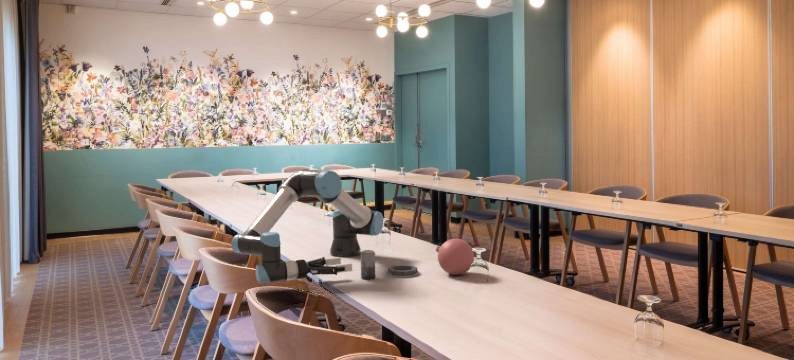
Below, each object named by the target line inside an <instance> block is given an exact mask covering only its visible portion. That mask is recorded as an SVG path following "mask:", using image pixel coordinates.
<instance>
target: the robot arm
mask: <svg viewBox="0 0 794 360" xmlns="http://www.w3.org/2000/svg"><path fill="white" fill-rule="evenodd" d="M341 180H342V178H341V176H340V175H339V174H338V173H337V172H336V171H333V170H329V169H323V170H320V169H319V170H318V169H302V170H298V171H296V172H294V173H293V174H292V175H290V176H289V177H288V178H286V179H285V180H284V181H283V182H282V183H281V184H280V185H279V187H278V189H277V190H278V191H277V193H276V194H275V195H274V196H273V198H272V199H271V200H270V202H269V203H268V204H267V205H266V206H265V207H264V208H263V210H262V211H261V212H260V213H259V215H258V216H257V217H256V218H255V219H254V221H253V222H252V223H251V224H250V226H248V228H247V229H246V230H245V232H243V233H238V234H236V235H234V236H233V238H232V240H231V244H230V245H231V249H232V251H233V252H235V253H237V254H242V255H252V256H259V257H260V263H258V264H256V266H255V278H256V281H257V282H258V284H266V283H267V284H271V283H277V282H283V281H284V282H285V281H287V282H290V281H291V280H296V279H297V280H300V279H301V280H302V279H306V278H307V277H308V274H311V275H312V276H316V275H334V276H337V275H338V274H339V273H346V272H353V264H352V263H348V264H347V263H346V264H342V262H341V260H342V259H341V257H344V258H345V257H346V258H347V257H355V256H358V255H361V252H362V249H361V246H360V242H359V240H358V238H357V237H358V235H362V236H371V237H373V236H378V235H380V233H382V230H383V227H384V216H383V214H382V212H380V211H377V210H376V211H375V210H374V211H373V210H372V209H371V208H370V207H368V206H367V205H361V204H360V203H359V202H358V201H357V200H356V199H354V198H353V197H352V196H351V195H350V194H349V193H348V192H346V191H345V190H344V189H343V182H342V181H341ZM303 197H311V198H317V199H318V200H319V201H320V202H322V203H324V204H330V206H332V207H333V208H335V209H334V210H333V211H332V231H333V233H332V235H333V236H332V237H333V238H332V242H331V245H330V249H329V254H330V256H332V258H331V257H330V258H326V257H325V256H323V257H320V258H316V259H312V260H309V261H306V260H305V259H297V260H295V259H294V260H286V261H281V255H282V254H281V244H282V243H281V237H280V233H278V232H276V231H271V230H272V228H274V226H275V225H277V222H278V221H279V220H280V219H281V218H282V217H283V215H284V214H285V213H286V211H287V210H288V209H289V208H290V206H291V205H292V203H297V201H298V200H299V199H300V198H303ZM333 257H334V258H333Z"/></svg>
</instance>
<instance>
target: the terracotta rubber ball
mask: <svg viewBox="0 0 794 360" xmlns="http://www.w3.org/2000/svg"><path fill="white" fill-rule="evenodd" d="M472 249H473V247H472V245H470V244H469V242H467V241H466V240H464V239H460V238H451V239H448V240H446V241H445V242H443V243H442V244H441V245H437V246H436V249H435V251H436V253H437V261H438V264H439V266H440V268H441V269H442V270H443V271H444V272H446V274H449V275H452V276H460V275H465V273H467V272H469V270H470V269H471V268H472V267H471V264H472V263H473V264H474V261H475V253H474V250H473V251H471V250H472ZM470 267H471V268H470Z"/></svg>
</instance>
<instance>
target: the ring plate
mask: <svg viewBox="0 0 794 360" xmlns="http://www.w3.org/2000/svg"><path fill="white" fill-rule="evenodd" d="M386 275H387V276H388V277H391V278H398V279H399V278H413V277H417V276H418V275H420V272H419V270H418V267H416V266H415V265H414V264H413V265H411V264H396V265H391V266H389V267H388V268H387V272H386Z"/></svg>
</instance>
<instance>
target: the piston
mask: <svg viewBox="0 0 794 360" xmlns="http://www.w3.org/2000/svg"><path fill="white" fill-rule="evenodd" d="M360 279H361V280H364V281H370V280H371V279H372V280H375V279H376V252H375V251H374V250H371V249H367V250H366V249H365V250H361V253H360Z"/></svg>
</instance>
